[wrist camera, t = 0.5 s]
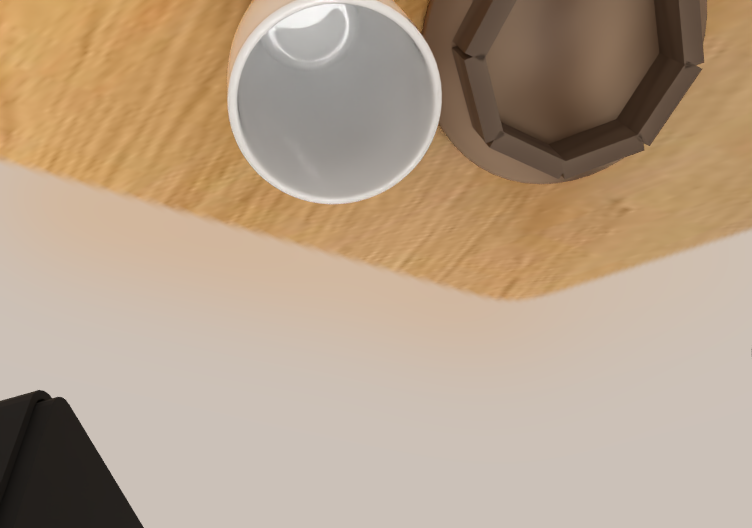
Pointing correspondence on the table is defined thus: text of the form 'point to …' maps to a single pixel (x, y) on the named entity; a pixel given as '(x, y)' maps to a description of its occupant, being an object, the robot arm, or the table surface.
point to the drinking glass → (332, 96)
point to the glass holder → (561, 79)
